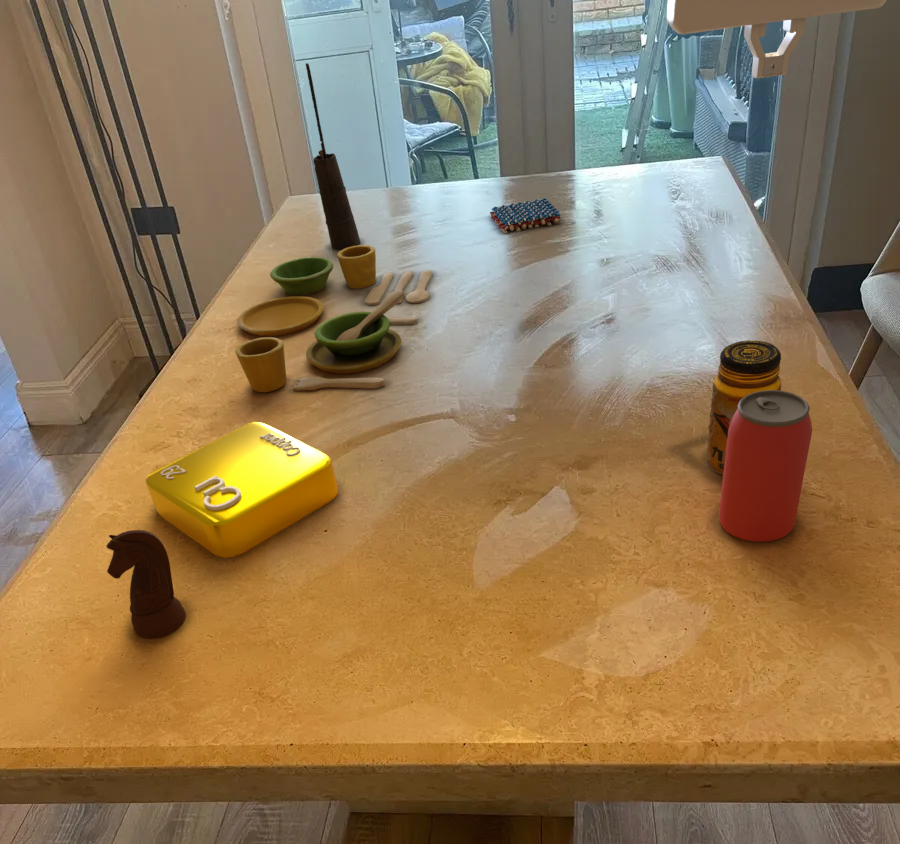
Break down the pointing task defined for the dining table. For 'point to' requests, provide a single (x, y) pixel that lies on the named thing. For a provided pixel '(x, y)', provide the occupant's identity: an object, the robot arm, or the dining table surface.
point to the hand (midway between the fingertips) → (768, 75)
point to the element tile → (242, 488)
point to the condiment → (738, 389)
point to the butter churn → (333, 193)
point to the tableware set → (326, 323)
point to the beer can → (765, 465)
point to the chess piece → (147, 583)
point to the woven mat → (524, 215)
